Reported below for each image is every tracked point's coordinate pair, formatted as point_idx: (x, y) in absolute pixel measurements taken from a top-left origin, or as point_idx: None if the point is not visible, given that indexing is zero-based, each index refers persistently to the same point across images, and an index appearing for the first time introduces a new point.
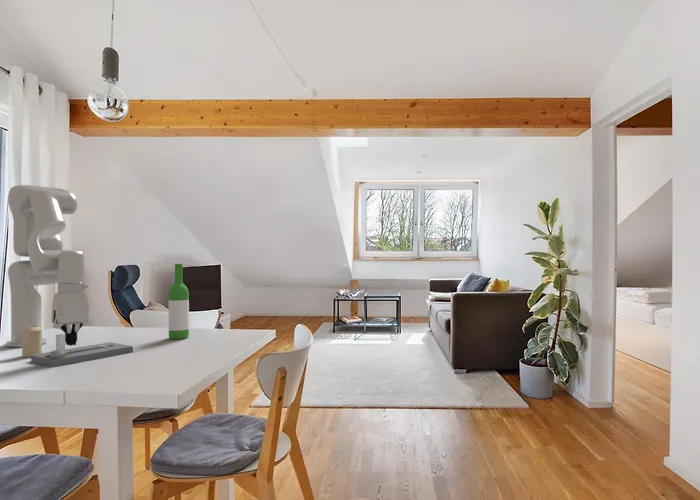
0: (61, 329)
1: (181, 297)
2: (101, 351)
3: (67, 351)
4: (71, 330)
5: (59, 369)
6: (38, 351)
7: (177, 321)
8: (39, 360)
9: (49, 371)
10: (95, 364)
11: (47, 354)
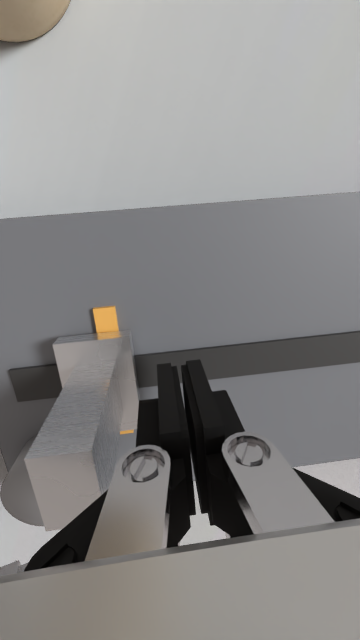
0: (69, 536)
1: None
2: (300, 459)
3: (133, 425)
4: (212, 486)
5: (48, 532)
6: (22, 9)
7: None
8: None
9: (3, 540)
10: (193, 540)
11: (36, 307)
